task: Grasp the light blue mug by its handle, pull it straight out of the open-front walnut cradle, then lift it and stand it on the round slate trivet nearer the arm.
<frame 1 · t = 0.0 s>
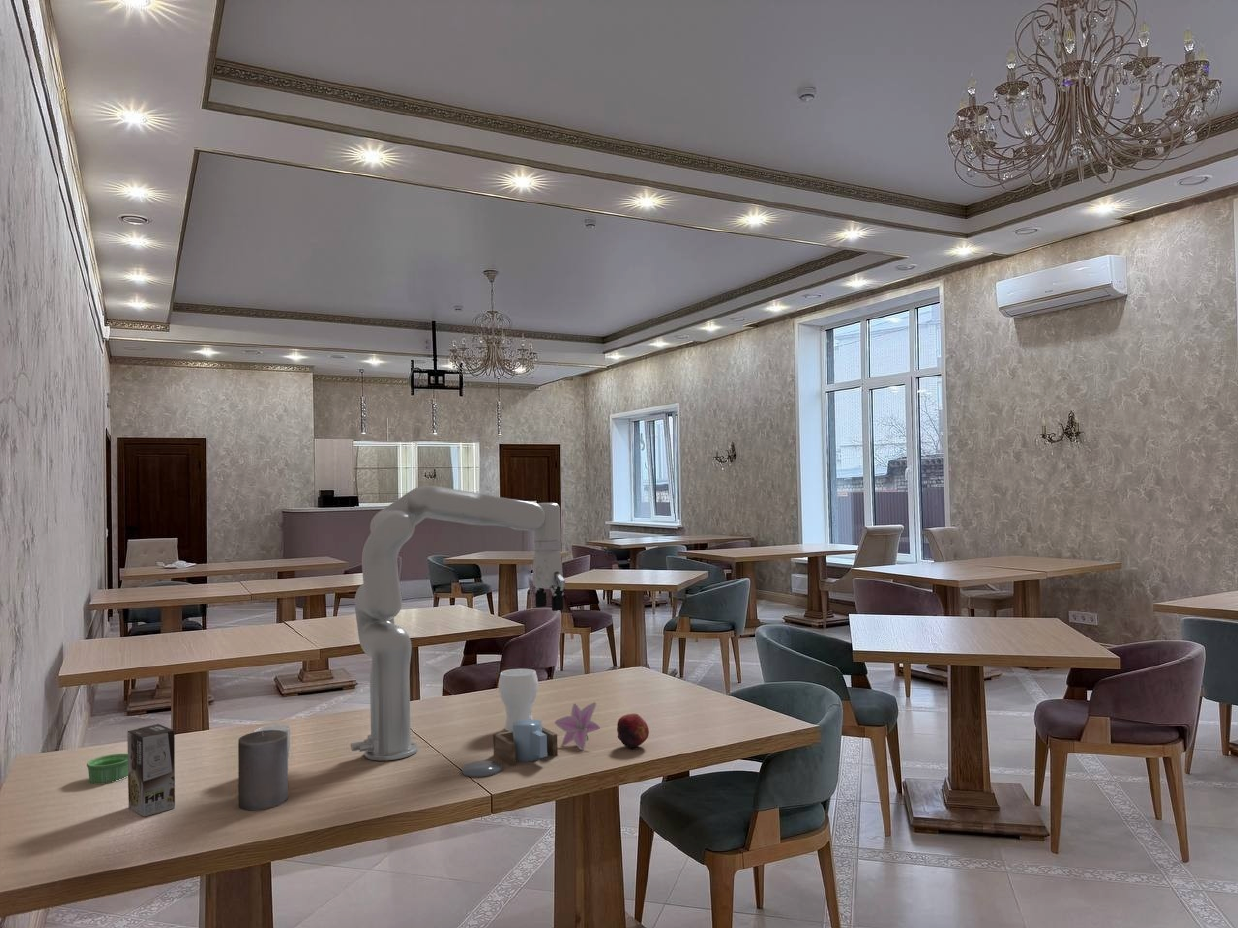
hand: (549, 608, 230), 31 cm above the table, tool pointing down, fingers open, 9 cm apart
trivet: (481, 770, 189), on the table
cradle: (528, 756, 199), on the table
pillar candle: (264, 802, 174), on the table
fruit: (632, 748, 203), on the table
lily: (579, 744, 208), on the table
cup: (519, 728, 223), on the table
light blue mug: (528, 756, 199), on the table
coffee box: (151, 808, 172), on the table
white cup: (272, 773, 192), on the table
ramekin: (109, 779, 192), on the table
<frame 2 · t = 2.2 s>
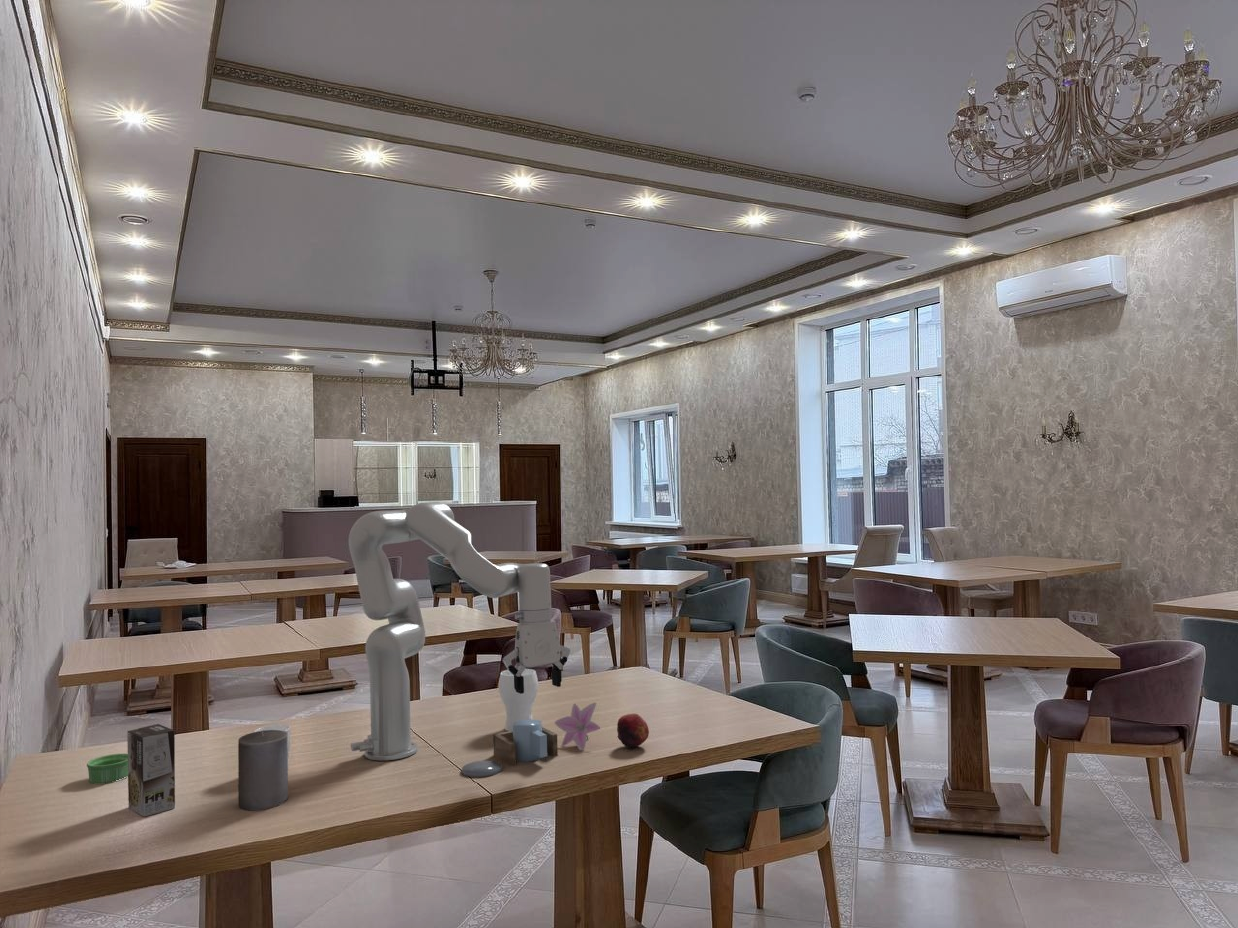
hand: (538, 689, 194), 17 cm above the table, tool pointing down, fingers open, 9 cm apart
nothing on the table moved.
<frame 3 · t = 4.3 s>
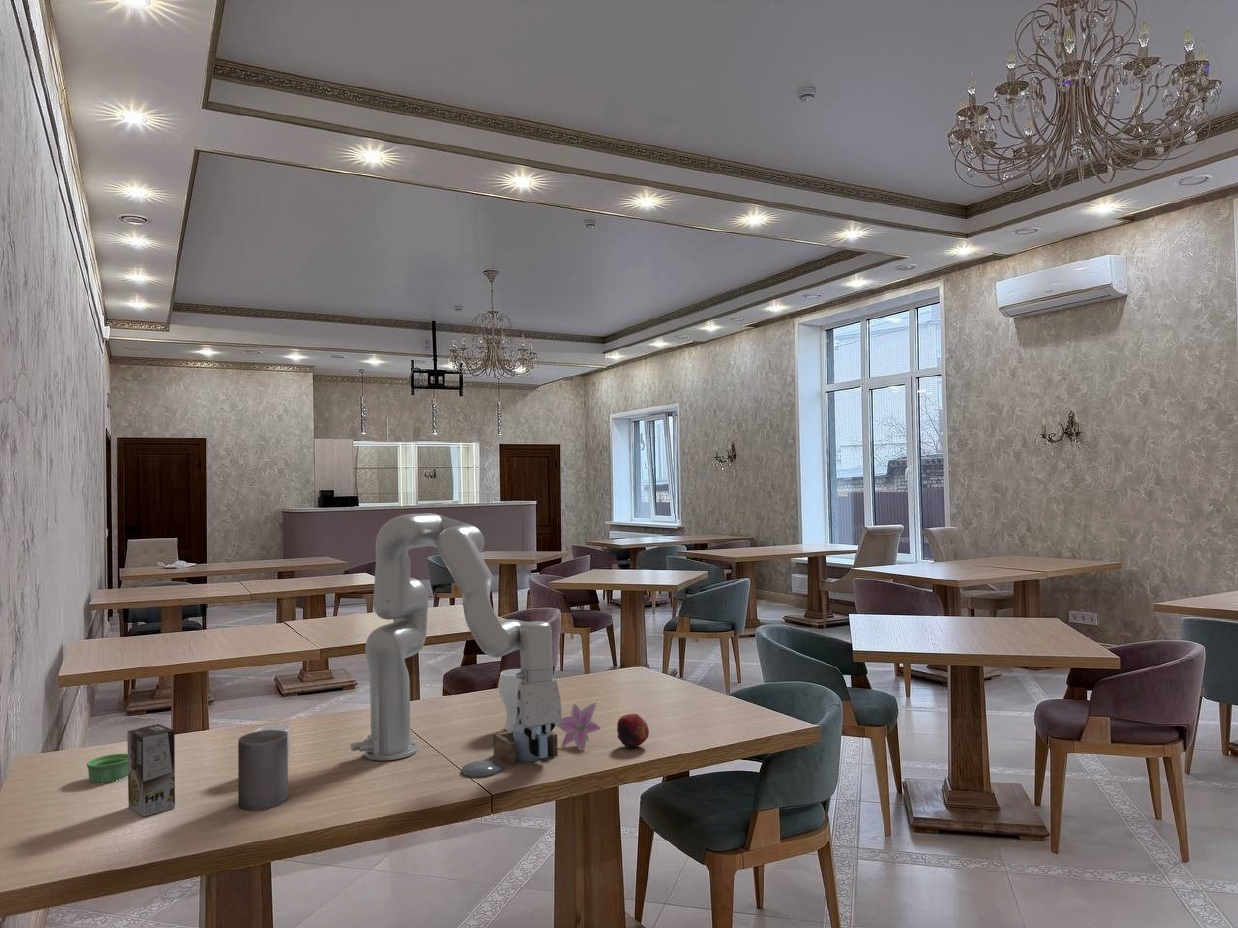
hand: (539, 753, 194), 2 cm above the table, tool pointing down, fingers closed on light blue mug
light blue mug: (528, 756, 198), on the table, touching gripper
everything else where it was.
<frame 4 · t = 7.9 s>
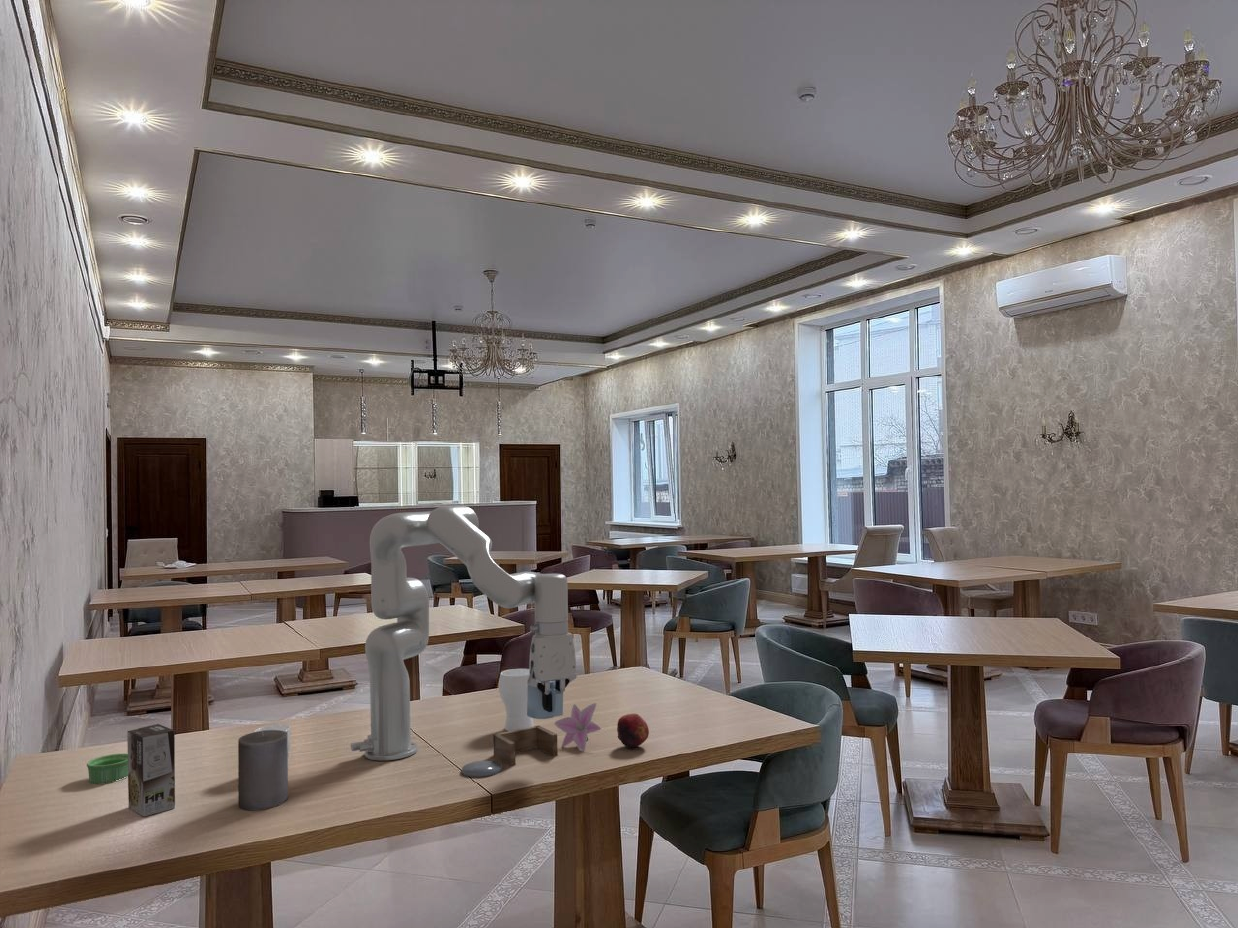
hand: (552, 709, 187), 14 cm above the table, tool pointing down, fingers closed on light blue mug
light blue mug: (541, 713, 192), point 12 cm above the table, touching gripper
everything else where it was.
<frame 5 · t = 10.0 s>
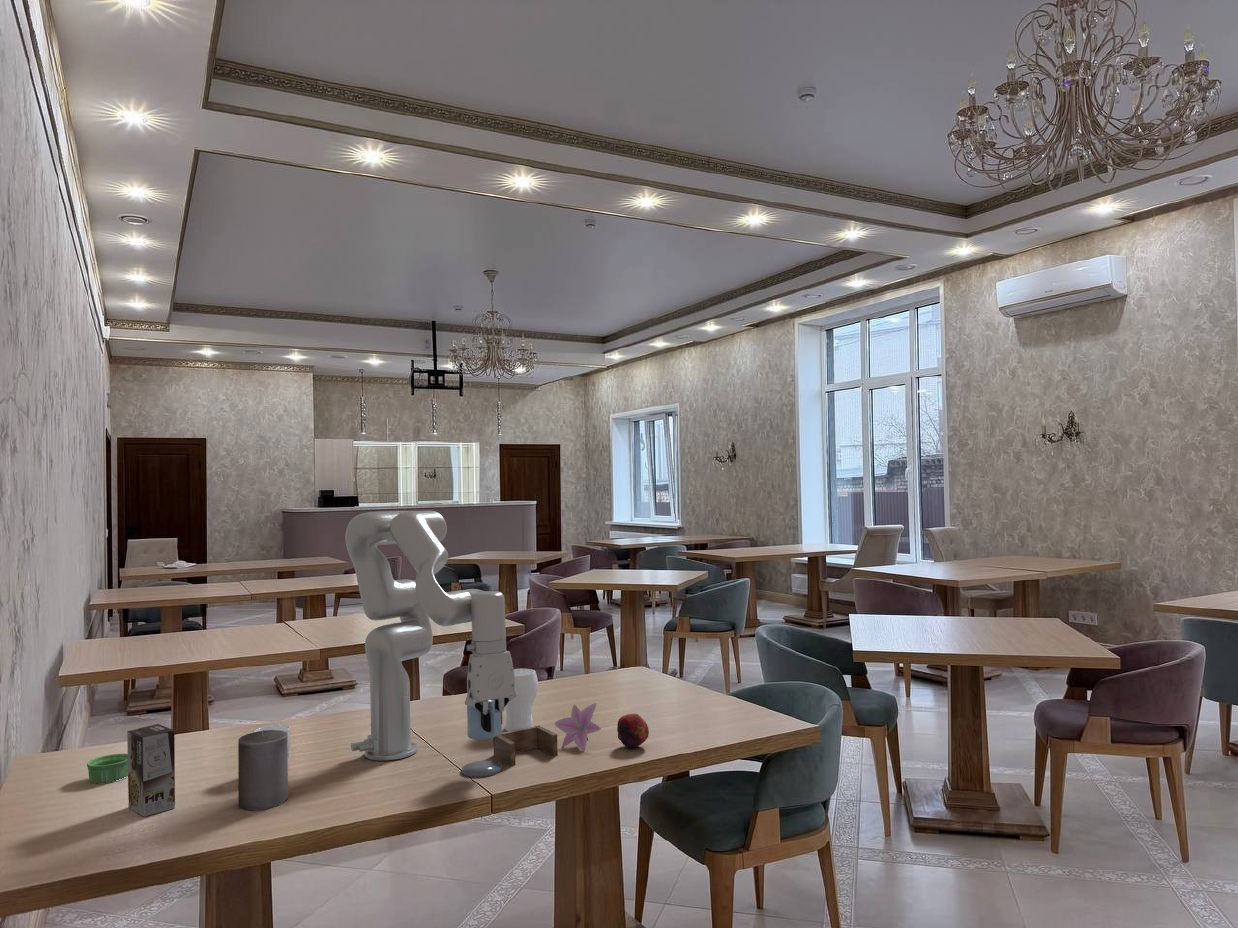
hand: (491, 729, 185), 11 cm above the table, tool pointing down, fingers closed on light blue mug
light blue mug: (483, 734, 189), point 8 cm above the table, touching gripper
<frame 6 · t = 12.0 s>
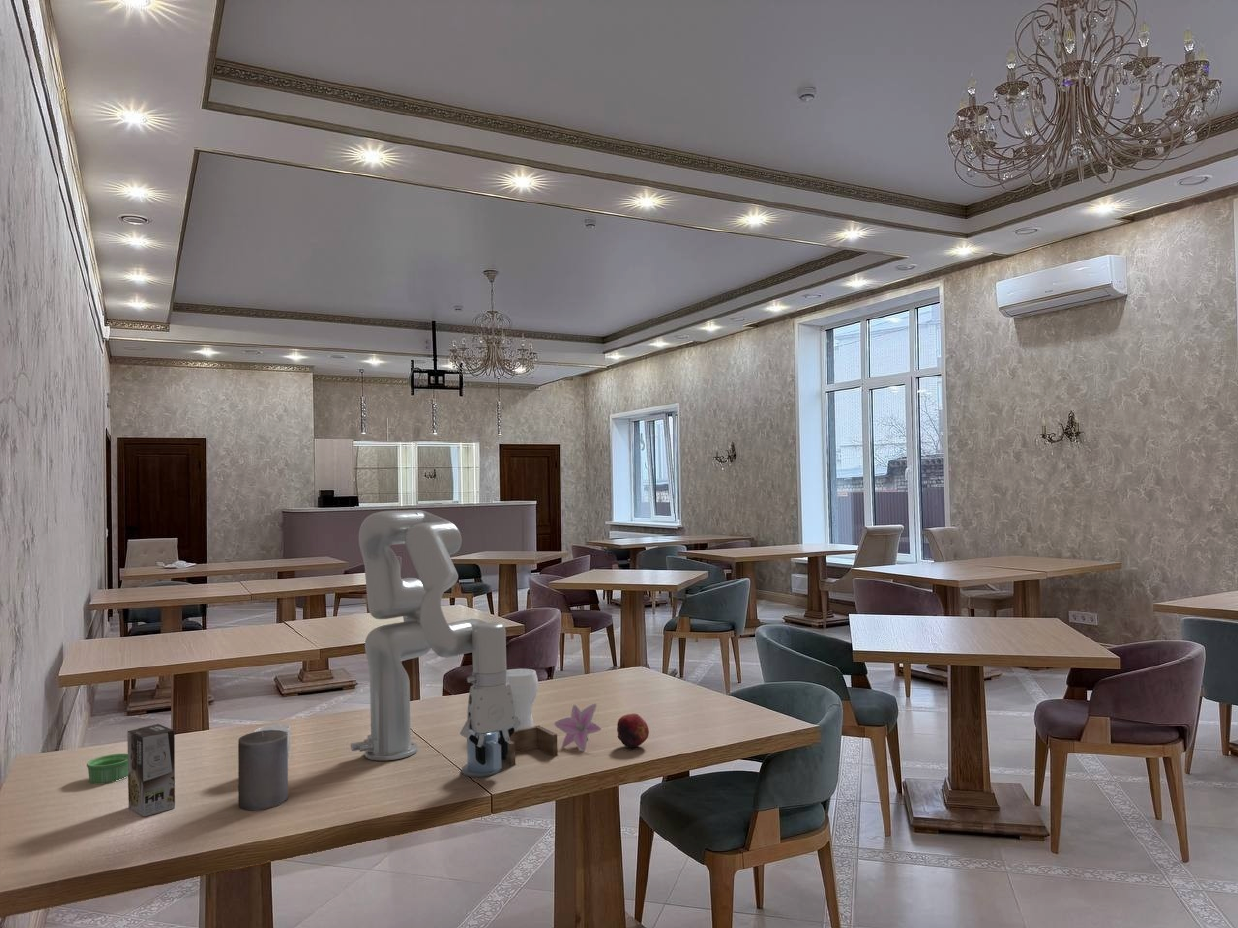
hand: (491, 759, 185), 4 cm above the table, tool pointing down, fingers open, 4 cm apart
light blue mug: (483, 767, 189), point 1 cm above the table, touching trivet
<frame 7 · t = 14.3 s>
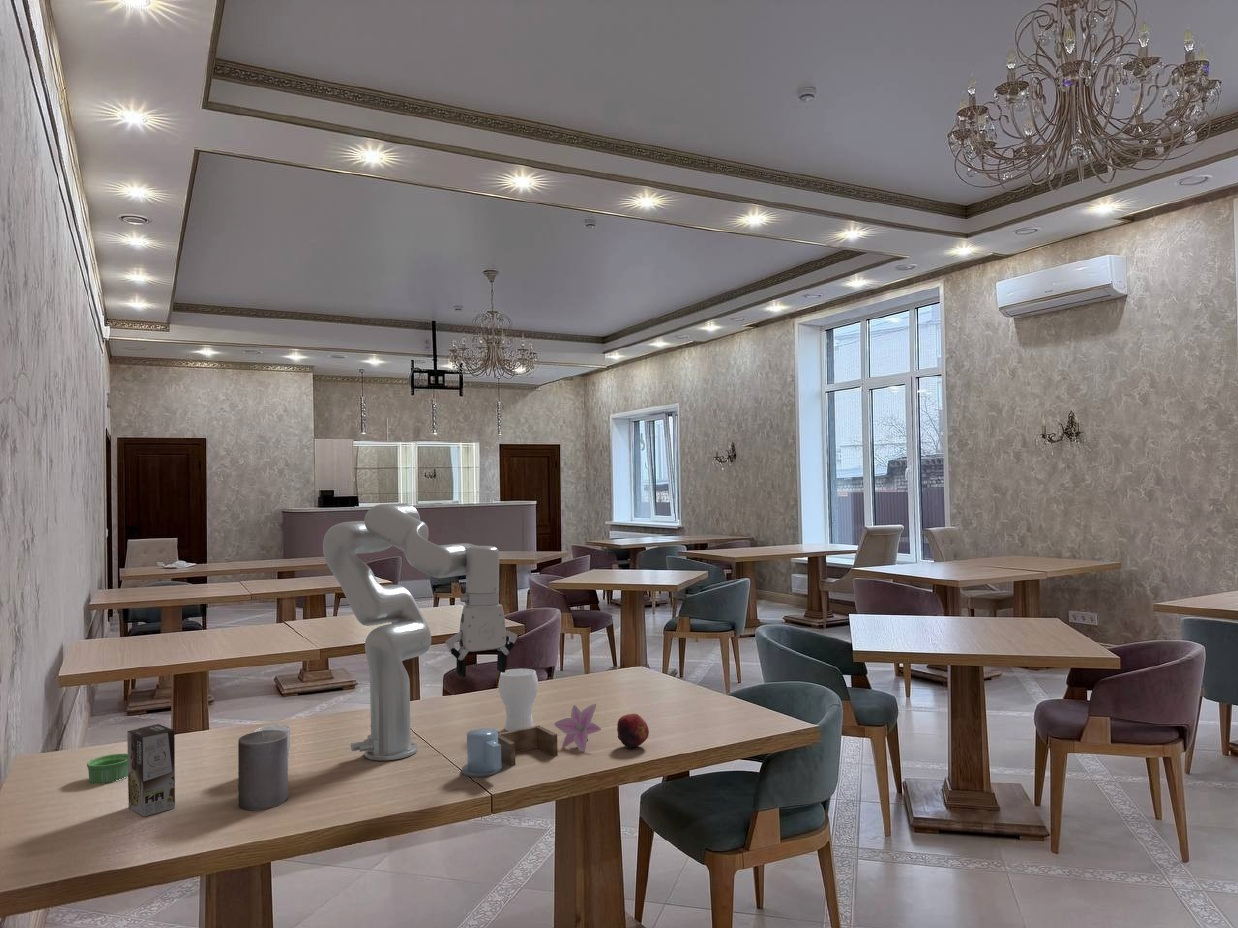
hand: (481, 673, 190), 22 cm above the table, tool pointing down, fingers open, 9 cm apart
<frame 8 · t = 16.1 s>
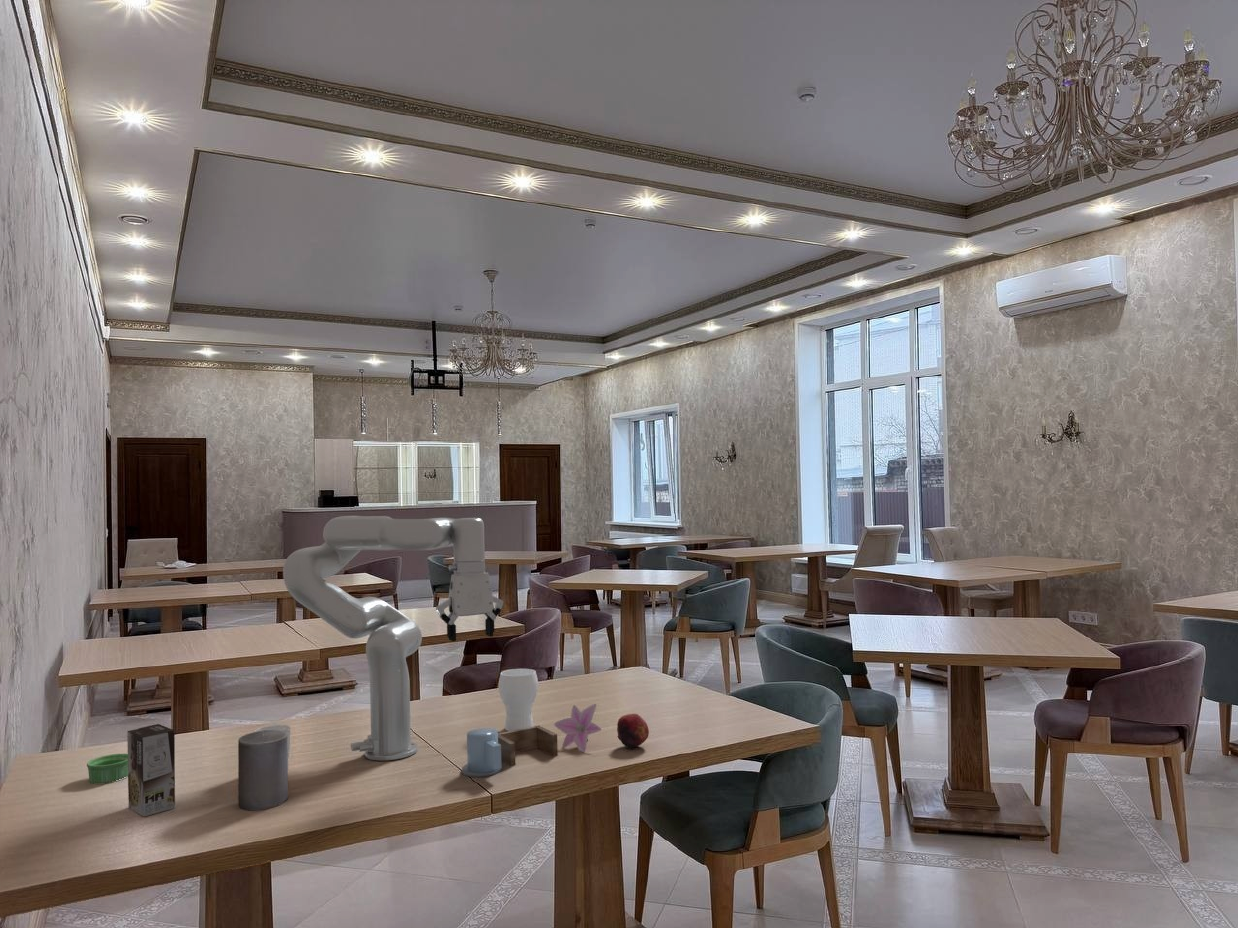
hand: (471, 638, 202), 28 cm above the table, tool pointing down, fingers open, 9 cm apart
at the end: light blue mug inside the target area on the trivet (0.8 cm from its centre), point 0.8 cm above the trivet's base; light blue mug tilted 0°; the gripper is holding nothing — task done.
